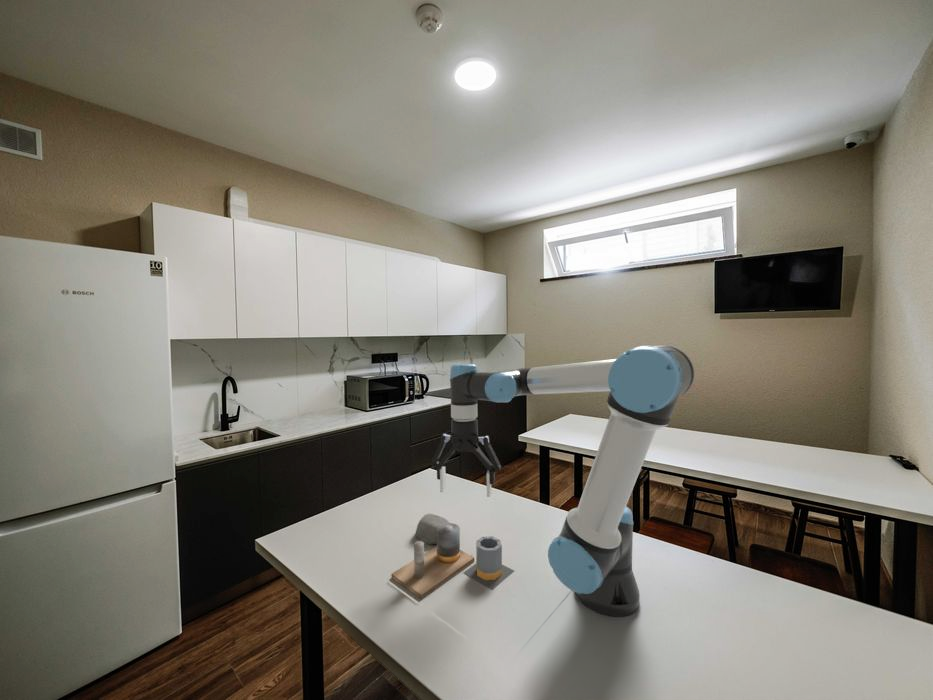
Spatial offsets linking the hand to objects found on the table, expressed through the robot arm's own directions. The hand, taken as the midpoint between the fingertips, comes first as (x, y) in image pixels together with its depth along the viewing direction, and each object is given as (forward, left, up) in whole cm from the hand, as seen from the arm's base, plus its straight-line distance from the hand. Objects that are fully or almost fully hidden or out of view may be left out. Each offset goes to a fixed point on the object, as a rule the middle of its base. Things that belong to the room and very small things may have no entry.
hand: (465, 492), depth 105 cm
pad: (-8, 0, -20) cm, 22 cm away
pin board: (+4, +9, -20) cm, 22 cm away
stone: (+16, -3, -21) cm, 26 cm away
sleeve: (-8, 0, -20) cm, 21 cm away
